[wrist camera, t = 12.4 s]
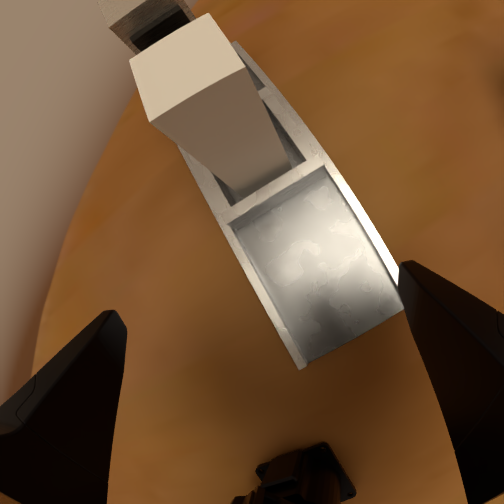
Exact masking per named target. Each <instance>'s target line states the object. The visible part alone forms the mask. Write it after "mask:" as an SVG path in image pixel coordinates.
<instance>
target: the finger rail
mask: <svg viewBox="0 0 504 504" xmlns="http://www.w3.org/2000/svg"><path fill="white" fill-rule="evenodd" d="M98 5H99V7H100V9H101V12H102V13H103V16H104V18H105V20H106V23H107V25H108V27H109V28H110V29H111V30H112V31H113V32H114V33H115V34H116V35H117V36H118V37H119V38H120V39H121V40H122V41H123V42H124V43H125V44H126V45H127V46H128V47H129V48H130V49H131V50H132V51H133V52H135V54H136V55H138V54H139V53H141V52H142V51H144V50H145V49H147V48H148V47H150V46H151V45H153V44H155V43H156V42H158V41H159V40H161V39H163V38H164V37H166V36H167V35H169V34H171V33H172V32H174V31H176V30H178V29H179V28H181V27H183V26H185V25H186V24H188V23H190V22H192V21H194V20H196V18H195V16H194V15H193V13H192V12H191V10H190V9H189V7H188V6H187V4H186V3H185V1H184V0H100V1H99V2H98ZM231 46H232V47H233V49H234V50H235V51H236V53H237V54H238V56H239V58H240V59H241V61H242V62H243V64H244V65H245V67H246V69H247V71H248V73H249V75H250V77H251V79H252V81H253V83H254V85H255V87H256V89H257V91H258V93H259V95H260V98H261V100H262V102H263V104H264V106H265V108H266V110H267V112H268V115H269V117H270V119H271V121H272V123H273V126H274V128H275V130H276V132H277V134H278V137H279V139H280V141H281V143H282V146H283V148H284V150H285V153H286V155H287V157H288V159H289V162H290V164H291V166H292V170H290V171H288V172H287V173H285V174H283V175H282V176H280V177H278V178H277V179H275V180H274V181H272V182H270V183H269V184H267V185H265V186H264V187H262V188H261V189H259V190H257V191H256V192H254V193H253V194H251V195H249V196H248V197H246V198H242V197H241V196H240V195H239V194H238V193H236V192H235V191H234V190H233V189H232V188H230V187H229V186H228V185H227V184H226V183H224V182H223V181H222V180H221V179H219V178H218V177H217V176H216V175H215V174H213V173H212V172H211V171H210V170H208V169H207V168H206V167H205V166H204V165H202V164H201V163H200V162H199V161H197V160H196V159H195V158H194V157H192V156H191V155H190V154H189V153H187V152H186V151H185V150H184V149H183V148H181V147H180V146H179V145H178V144H177V146H178V148H179V150H180V152H181V153H182V155H183V157H184V159H185V161H186V163H187V165H188V167H189V169H190V171H191V172H192V174H193V176H194V178H195V180H196V182H197V184H198V186H199V188H200V189H201V191H202V193H203V195H204V197H205V199H206V201H207V203H208V205H209V206H210V208H211V210H212V212H213V214H214V216H215V218H216V220H217V221H218V223H219V225H220V227H221V229H222V231H223V233H224V234H225V236H226V238H227V240H228V242H229V244H230V246H231V247H232V249H233V251H234V253H235V255H236V257H237V259H238V260H239V262H240V264H241V266H242V268H243V270H244V271H245V273H246V275H247V277H248V279H249V281H250V283H251V284H252V286H253V288H254V290H255V292H256V293H257V295H258V297H259V299H260V301H261V303H262V304H263V306H264V308H265V310H266V312H267V314H268V315H269V317H270V319H271V321H272V323H273V324H274V326H275V328H276V330H277V332H278V333H279V335H280V337H281V339H282V341H283V342H284V344H285V346H286V348H287V350H288V351H289V353H290V355H291V357H292V359H293V360H294V362H295V364H296V366H297V368H298V369H299V370H300V369H302V368H304V367H306V366H307V365H308V363H309V362H311V361H313V360H315V359H317V358H319V357H321V356H323V355H325V354H327V353H329V352H330V351H332V350H334V349H336V348H338V347H340V346H342V345H343V344H345V343H347V342H349V341H351V340H352V339H354V338H356V337H358V336H360V335H361V334H363V333H365V332H366V331H368V330H370V329H372V328H373V327H375V326H377V325H378V324H380V323H382V322H383V321H385V320H387V319H388V318H390V317H392V316H393V315H395V314H396V313H398V312H400V311H401V310H403V309H404V307H403V304H402V301H401V298H400V295H399V291H398V285H397V284H398V272H399V269H398V267H397V265H396V264H395V262H394V260H393V258H392V256H391V255H390V253H389V251H388V249H387V248H386V246H385V244H384V242H383V241H382V239H381V237H380V236H379V234H378V232H377V231H376V229H375V227H374V226H373V224H372V222H371V221H370V219H369V217H368V216H367V214H366V213H365V211H364V209H363V208H362V206H361V205H360V203H359V201H358V200H357V198H356V197H355V195H354V194H353V192H352V191H351V189H350V188H349V186H348V185H347V183H346V182H345V180H344V179H343V177H342V176H341V174H340V173H339V171H338V170H337V168H336V167H335V165H334V164H333V162H332V161H331V159H330V158H329V157H328V155H327V154H326V152H325V151H324V150H323V148H322V147H321V145H320V144H319V143H318V141H317V140H316V138H315V137H314V136H313V134H312V133H311V132H310V130H309V129H308V128H307V126H306V125H305V124H304V122H303V121H302V120H301V118H300V117H299V116H298V114H297V113H296V112H295V110H294V109H293V108H292V107H291V105H290V104H289V103H288V102H287V100H286V99H285V98H284V97H283V95H282V94H281V93H280V92H279V90H278V89H277V88H276V87H275V85H274V84H273V83H272V82H271V81H270V79H269V78H268V77H267V76H266V75H265V73H264V72H263V71H262V70H261V69H260V67H259V66H258V65H257V64H256V63H255V62H254V61H253V59H252V58H251V57H250V56H249V55H248V54H247V53H246V51H245V50H244V49H243V48H242V47H241V46H240V45H239V44H238V43H237V41H234V42H233V43H231Z"/></svg>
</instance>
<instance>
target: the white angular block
mask: <svg viewBox="0 0 504 504" xmlns="http://www.w3.org/2000/svg"><path fill="white" fill-rule="evenodd" d="M129 62H130V65H131V68H132V71H133V75H134V78H135V81H136V84H137V87H138V90H139V93H140V96H141V99H142V102H143V105H144V108H145V111H146V114H147V117H148V120H149V122H150V123H151V124H152V125H153V126H155V127H156V128H157V129H159V130H160V131H161V132H162V133H164V134H165V135H166V136H167V137H169V138H170V139H171V140H172V141H174V142H175V143H176V144H178V145H179V146H180V147H181V148H183V149H184V150H185V151H186V152H187V153H189V154H190V155H191V156H192V157H194V158H195V159H196V160H197V161H199V162H200V163H201V164H202V165H204V166H205V167H206V168H207V169H208V170H210V171H211V172H212V173H213V174H215V175H216V176H217V177H218V178H219V179H221V180H222V181H223V182H224V183H226V184H227V185H228V186H229V187H230V188H232V189H233V190H234V191H235V192H236V193H238V194H239V195H240V196H241V197H242V198H246V197H248V196H249V195H251V194H253V193H254V192H256V191H257V190H259V189H261V188H262V187H264V186H265V185H267V184H269V183H270V182H272V181H274V180H275V179H277V178H278V177H280V176H282V175H283V174H285V173H287V172H288V171H290V170H292V166H291V164H290V162H289V159H288V157H287V155H286V153H285V150H284V148H283V146H282V143H281V141H280V139H279V137H278V134H277V132H276V130H275V128H274V126H273V123H272V121H271V119H270V117H269V115H268V112H267V110H266V108H265V106H264V104H263V102H262V100H261V98H260V95H259V93H258V91H257V89H256V87H255V85H254V83H253V81H252V79H251V77H250V75H249V73H248V71H247V69H246V67H245V65H244V64H243V62H242V61H241V59H240V58H239V56H238V54H237V53H236V51H235V50H234V49H233V47H232V46H231V44H230V43H229V41H228V40H227V38H226V37H225V35H224V34H223V32H222V31H221V30H220V28H219V27H218V25H217V24H216V22H215V21H214V20H213V18H212V17H211V16H210V14H209V13H207V14H205V15H203V16H201V17H199V18H197V19H196V20H194V21H192V22H190V23H188V24H186V25H185V26H183V27H181V28H179V29H178V30H176V31H174V32H172V33H171V34H169V35H167V36H166V37H164V38H163V39H161V40H159V41H158V42H156V43H155V44H153V45H151V46H150V47H148V48H147V49H145V50H144V51H142V52H141V53H139V54H138V55H136V56H135V57H133V58H132V59H130V60H129Z"/></svg>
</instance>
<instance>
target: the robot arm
mask: <svg viewBox="0 0 504 504" xmlns="http://www.w3.org/2000/svg"><path fill="white" fill-rule="evenodd" d="M397 285H398V291H399V295H400V298H401V301H402V304H403V307H404V310H405V313H406V317H407V320H408V323H409V326H410V329H411V333H412V335H413V338H414V340H415V343H416V345H417V347H418V350H419V352H420V355H421V357H422V360H423V362H424V365H425V367H426V370H427V372H428V375H429V377H430V380H431V383H432V385H433V388H434V391H435V394H436V396H437V399H438V402H439V405H440V408H441V411H442V413H443V416H444V419H445V422H446V425H447V429H448V432H449V435H450V438H451V441H452V445H453V448H454V450H455V455H456V459H457V462H458V466H459V470H460V473H461V477H462V481H463V485H464V489H465V493H466V498H467V502H468V504H485V503H487V502H489V501H491V500H493V499H495V498H497V497H498V496H500V495H502V494H504V314H502V313H501V312H499V311H496V309H494V308H493V307H491V306H489V305H488V304H486V303H485V302H483V301H481V300H480V299H478V298H477V297H475V296H473V295H472V294H470V293H468V292H467V291H465V290H463V289H462V288H460V287H458V286H457V285H455V284H453V283H452V282H450V281H448V280H447V279H445V278H443V277H441V276H440V275H438V274H436V273H435V272H433V271H431V270H429V269H428V268H426V267H424V266H422V265H421V264H419V263H417V262H415V261H413V260H409V261H404V262H401V263H400V265H399V272H398V284H397ZM126 342H127V328H126V326H125V324H124V323H123V321H122V319H121V318H120V316H119V314H118V313H117V311H115V310H105V311H103V312H102V313H101V314H100V315H98V316H97V317H96V318H95V319H94V320H93V321H92V322H91V323H90V324H88V325H87V326H86V327H85V328H84V329H83V330H82V331H81V332H80V333H79V334H78V335H76V336H75V337H74V338H73V339H72V340H71V341H70V342H69V343H68V344H67V345H66V346H65V347H63V348H62V349H61V350H60V351H59V352H58V353H57V354H56V355H55V356H54V357H53V358H52V359H51V360H50V361H49V362H48V363H47V364H45V365H44V366H43V367H42V368H41V369H40V370H39V371H38V372H37V374H35V375H34V376H33V377H32V378H31V379H30V380H29V381H28V382H27V383H26V384H25V385H24V386H23V387H22V388H21V389H20V390H18V391H17V392H16V393H15V394H14V395H13V396H12V397H10V398H9V399H8V400H7V401H6V402H5V403H3V404H2V405H1V406H0V504H107V493H108V480H109V469H110V460H111V451H112V443H113V436H114V429H115V422H116V415H117V409H118V402H119V396H120V390H121V385H122V379H123V373H124V364H125V352H126ZM322 447H324V448H326V449H325V450H321V449H320V448H322ZM260 469H262V470H264V471H263V472H262V471H260ZM255 472H256V474H257V475H258V477H259V478H260V479H261V481H262V483H261V485H260V486H257V487H256V489H255V490H254V491H251V492H250V493H249V494H248V495H246V496H237V497H235V498H234V499H233V500H232V502H231V504H340V502H343V501H345V500H348V499H351V498H353V497H355V496H356V489H355V487H354V486H353V484H352V482H351V481H350V479H349V478H348V476H347V474H346V473H345V471H344V469H343V468H342V466H341V464H340V463H339V461H338V459H337V457H336V456H335V454H334V452H333V451H332V449H331V447H330V446H329V444H327V443H324V442H323V443H319V444H317V445H314V446H312V447H309V448H307V449H304V450H296V451H293V452H291V453H288V454H285V455H282V456H279V457H276V458H274V459H272V460H271V461H270V462H267V463H264V464H261V465H259V466H257V468H256V471H255ZM349 492H352V494H348V493H349Z"/></svg>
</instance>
